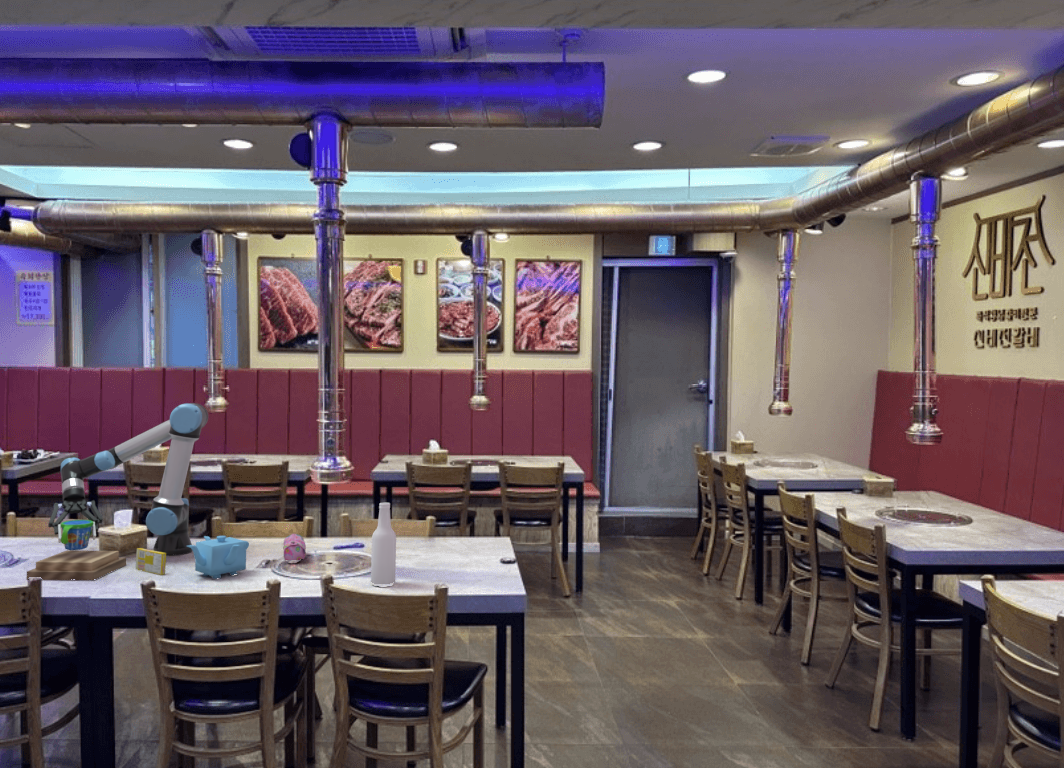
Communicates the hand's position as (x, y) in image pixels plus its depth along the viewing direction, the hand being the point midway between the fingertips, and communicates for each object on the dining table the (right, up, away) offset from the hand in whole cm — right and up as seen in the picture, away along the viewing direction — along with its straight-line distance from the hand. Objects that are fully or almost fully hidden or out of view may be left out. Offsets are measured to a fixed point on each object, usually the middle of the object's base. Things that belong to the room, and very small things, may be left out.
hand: (77, 539), depth 292 cm
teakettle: (+53, -14, +1) cm, 55 cm away
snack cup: (-2, -4, +2) cm, 5 cm away
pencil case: (+73, -15, +30) cm, 80 cm away
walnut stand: (0, -13, +1) cm, 13 cm away
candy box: (+26, -14, +4) cm, 29 cm away
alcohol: (+117, -15, -8) cm, 118 cm away
